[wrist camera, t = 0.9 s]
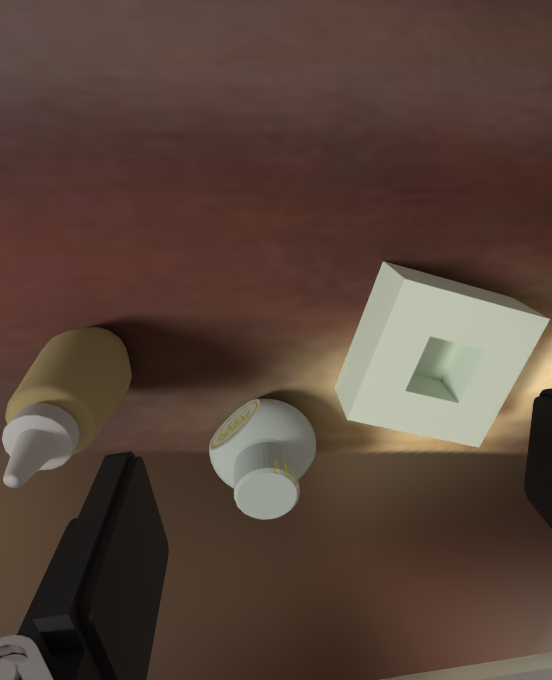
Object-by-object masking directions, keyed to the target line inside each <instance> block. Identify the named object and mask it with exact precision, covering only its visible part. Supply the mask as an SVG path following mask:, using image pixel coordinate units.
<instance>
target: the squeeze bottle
mask: <svg viewBox="0 0 552 680" xmlns="http://www.w3.org/2000/svg"><path fill="white" fill-rule="evenodd" d="M131 378H132V374H131V368H130V362H129V357H128V353H127V349H126V347H125V345H124V344H123V342H122V341H121V339H120V338H119V337H118V336H116V335H115V334H114V333H112V332H111V331H109V330H106V329H103V328H100V327H85V328H80V329H75V330H70V331H67V332H64V333H62V334H60V335H58V336H55V337H53V338H52V339H51V340H50V341H49V342H48V343H47V345H46V346H45V347H44V348H43V349H42V351H41V352H40V354H39V355H38V357H37V358H36V360H35V362H34V363H33V365H32V366H31V368H30V369H29V371H28V373H27V374H26V376H25V377H24V379H23V380H22V382H21V383H20V385H19V387H18V388H17V390H16V391H15V393H14V394H13V396H12V397H11V399H10V401H9V402H8V406H7V411H6V416H5V418H6V421H7V424H8V425H7V426H6V427H5V428H4V432H3V437H2V441H3V444H4V448H5V451H6V452H7V453H8V454H9V455H10V456H11V457H10V460H9V463H8V466H7V469H6V471H5V474H4V478H3V481H4V483H5V484H6V485H7V486H9V487H12V488H18V487H20V486H21V485H23V484H24V483H25V482H26V481H27V480H28V479H29V478H30V477H31V476H32V475H33V474H34V473H36V472H37V471H38V470H48V469H54V468H56V467H59V466H61V465H63V464H64V463H65V462H66V461H67V460H68V459H69V458H70V457H71V456H72V455H74V454H76V453H79V452H81V451H84V450H85V449H86V448H87V447H88V446H89V445H90V444H91V443H92V441H93V440H94V439H95V438H96V436H97V435H98V433H99V432H100V430H101V429H102V427H103V426H104V425H105V423H106V422H107V420H108V419H109V417H110V416H111V414H112V413H113V411H114V410H115V409H116V407H117V406H118V404H119V403H120V401H121V400H122V398H123V397H124V395H125V394H126V392H127V391H128V388H129V385H130V381H131Z"/></svg>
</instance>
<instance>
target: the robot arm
mask: <svg viewBox="0 0 552 680" xmlns="http://www.w3.org/2000/svg"><path fill="white" fill-rule="evenodd" d="M524 490H525V494H526V496H527V498H528V500H529V501H530V503H531V504H532V505H533V507H534V508H535V509H536V510H537V511H538V513H539V514H540V515H541V516H542V517H543V519H544V520H545V521H546V522H547V524H548V525H549V526H550V527H551V528H552V388H551V389H545V390H543V391H542V392H541V393H540V396H539V397H536V398H535V400H534V403H533V411H532V420H531V429H530V438H529V446H528V455H527V464H526V473H525V482H524ZM167 561H168V541H167V537H166V534H165V531H164V527H163V525H162V521H161V517H160V514H159V511H158V507H157V504H156V501H155V497H154V494H153V491H152V488H151V484H150V481H149V478H148V474H147V471H146V468H145V464H144V461H143V459H142V457H140V456H139V457H135V456H134V454H133V452H131V451H130V452H124V453H117V454H110V455H107V456H106V457H105V458H104V460H103V462H102V464H101V466H100V469H99V471H98V473H97V476H96V478H95V480H94V482H93V485H92V487H91V489H90V491H89V494H88V496H87V498H86V501H85V503H84V505H83V507H82V509H81V512H80V514H79V516H78V518H75V519H73V520H72V521H70V523H69V524H68V526H67V527H66V530H65V532H64V534H63V536H62V538H61V540H60V542H59V545H58V547H57V549H56V551H55V553H54V555H53V558H52V560H51V562H50V564H49V566H48V569H47V571H46V573H45V575H44V577H43V579H42V582H41V584H40V586H39V588H38V590H37V592H36V594H35V597H34V599H33V601H32V603H31V605H30V607H29V610H28V612H27V614H26V616H25V618H24V620H23V623H22V625H21V627H20V629H19V631H18V633H17V635H16V636H7V637H4V638H1V639H0V680H146V679H147V673H148V667H149V662H150V656H151V651H152V645H153V639H154V634H155V628H156V622H157V617H158V611H159V606H160V600H161V594H162V588H163V583H164V577H165V572H166V566H167ZM381 680H552V653H545V654H539V655H532V656H526V657H519V658H513V659H508V660H501V661H494V662H488V663H482V664H475V665H469V666H463V667H456V668H450V669H444V670H438V671H432V672H425V673H419V674H413V675H406V676H401V677H394V678H388V679H381Z"/></svg>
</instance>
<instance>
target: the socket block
mask: <svg viewBox="0 0 552 680" xmlns="http://www.w3.org/2000/svg"><path fill="white" fill-rule="evenodd" d="M549 320H550V319H549V318H547V317H546V316H544V315H542V314H540V313H539V312H537V311H535V310H533V309H532V308H530V307H528V306H526V305H525V304H523V303H521V302H519V301H518V300H516V299H514V298H512V297H509V296H505V295H502V294H498V293H495V292H491V291H488V290H484V289H481V288H477V287H473V286H470V285H466V284H463V283H459V282H456V281H452V280H449V279H445V278H442V277H438V276H434V275H431V274H427V273H424V272H420V271H417V270H413V269H410V268H406V267H403V266H399V265H395V264H392V263H388V262H385V261H383V263H382V266H381V268H380V271H379V273H378V276H377V279H376V281H375V284H374V286H373V289H372V292H371V294H370V297H369V299H368V302H367V305H366V307H365V310H364V312H363V315H362V318H361V320H360V323H359V325H358V328H357V331H356V333H355V336H354V338H353V341H352V344H351V346H350V349H349V351H348V354H347V357H346V359H345V362H344V364H343V367H342V370H341V372H340V375H339V377H338V380H337V383H336V385H335V390H336V393H337V395H338V398H339V400H340V403H341V406H342V408H343V411H344V413H345V416H346V418H347V420H350V421H355V422H360V423H365V424H369V425H374V426H379V427H384V428H388V429H393V430H398V431H403V432H407V433H412V434H417V435H422V436H426V437H431V438H436V439H441V440H446V441H450V442H455V443H460V444H465V445H469V446H474V447H480V445H481V443H482V441H483V439H484V437H485V436H486V434H487V432H488V430H489V428H490V427H491V425H492V423H493V421H494V419H495V418H496V416H497V414H498V412H499V410H500V409H501V407H502V405H503V403H504V401H505V400H506V398H507V396H508V394H509V392H510V391H511V389H512V387H513V385H514V383H515V382H516V380H517V378H518V376H519V374H520V373H521V371H522V369H523V367H524V365H525V364H526V362H527V360H528V358H529V356H530V355H531V353H532V351H533V349H534V347H535V346H536V344H537V342H538V340H539V338H540V337H541V335H542V333H543V331H544V329H545V328H546V326H547V324H548V322H549Z"/></svg>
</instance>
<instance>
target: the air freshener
mask: <svg viewBox="0 0 552 680" xmlns="http://www.w3.org/2000/svg"><path fill="white" fill-rule="evenodd" d="M209 453H210V458H211V462H212V465H213V467H214V469H215V471H216V472H217V474H218V475H219V477H220V478H221V479H222V480H223V481H224V482H225V483H226V484H228V485H229V486H231V487H232V488H234V499H235V501H236V503H237V506H238V508H240V509H241V510H242V512H244V513H245V514H247V515H249V516H251V517H254V518H258V519H273V518H277V517H279V516H282V515H284V514H286V513H287V512H288V511H290V510H291V509H292V508H293V507H294V506H295V504H296V502H297V501H298V498H299V492H300V491H299V484H298V479H299V478H300V477H301V476H302V475H303V474H304V473H305V472H306V470H307V469H308V468H309V466H310V465H311V463H312V461H313V459H314V457H315V454H316V437H315V434H314V430H313V428H312V426H311V424H310V422H309V421H308V419H307V418H306V417H305V416H304V414H302V413H301V412H300V411H299V410H298V409H296V408H295V407H293V406H292V405H290V404H287V403H285V402H283V401H279V400H275V399H255V400H252V401H249V402H248V403H246V404H244V405H243V406H242V407H240V408H239V409H238V410H237V411H235V412H234V413H233V414H232V415H231V416H230V417H229V418H228V419H227V420H226V421H225V422H224V423H223V424H222V425H221V427H220V428H219V429H218V430H217V432H216V433H215V435H214V436H213V438H212V440H211V442H210V445H209Z"/></svg>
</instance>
